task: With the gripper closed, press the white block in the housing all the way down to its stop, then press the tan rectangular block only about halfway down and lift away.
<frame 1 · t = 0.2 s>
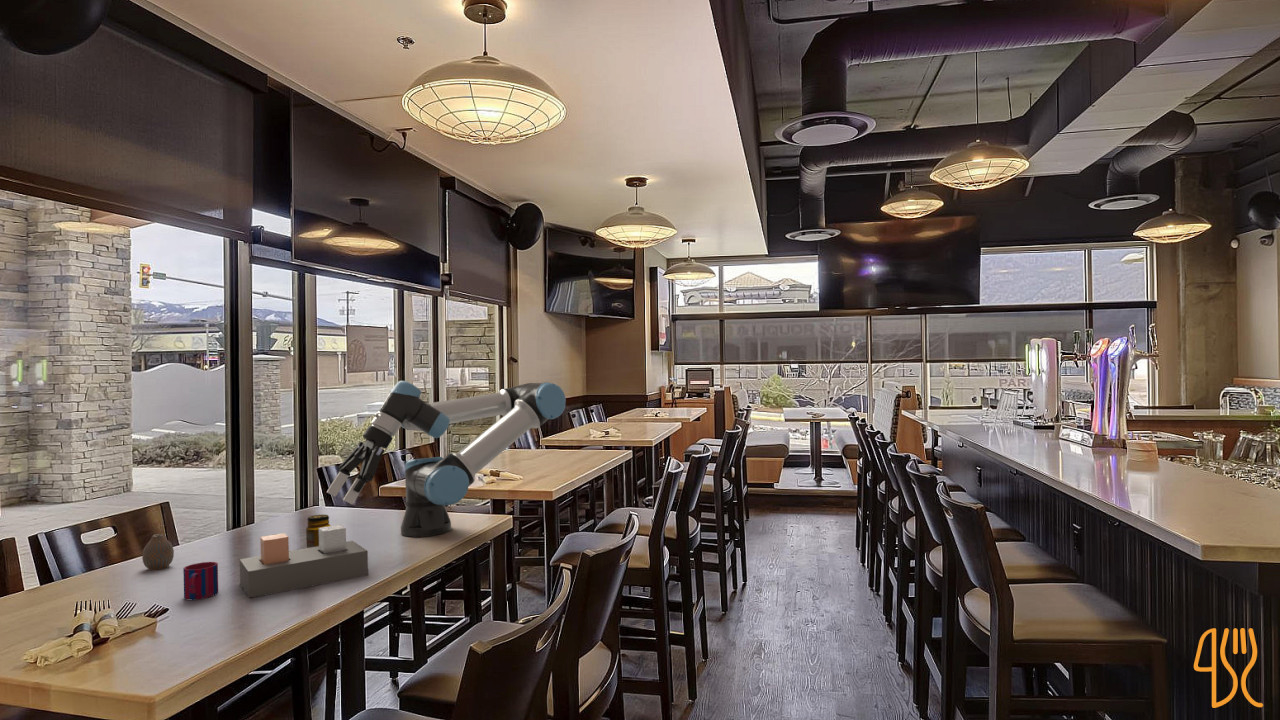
hand: (338, 498, 191), 16 cm above the table, tool tilted 35°, fingers open, 13 cm apart
white block: (332, 540, 174), point 8 cm above the table, slide at 0.0 cm
vase: (158, 568, 186), on the table
tan rectangular block: (274, 549, 167), point 8 cm above the table, slide at 0.0 cm
condiment: (315, 561, 188), on the table
mug: (198, 598, 159), on the table
housing: (305, 579, 170), on the table
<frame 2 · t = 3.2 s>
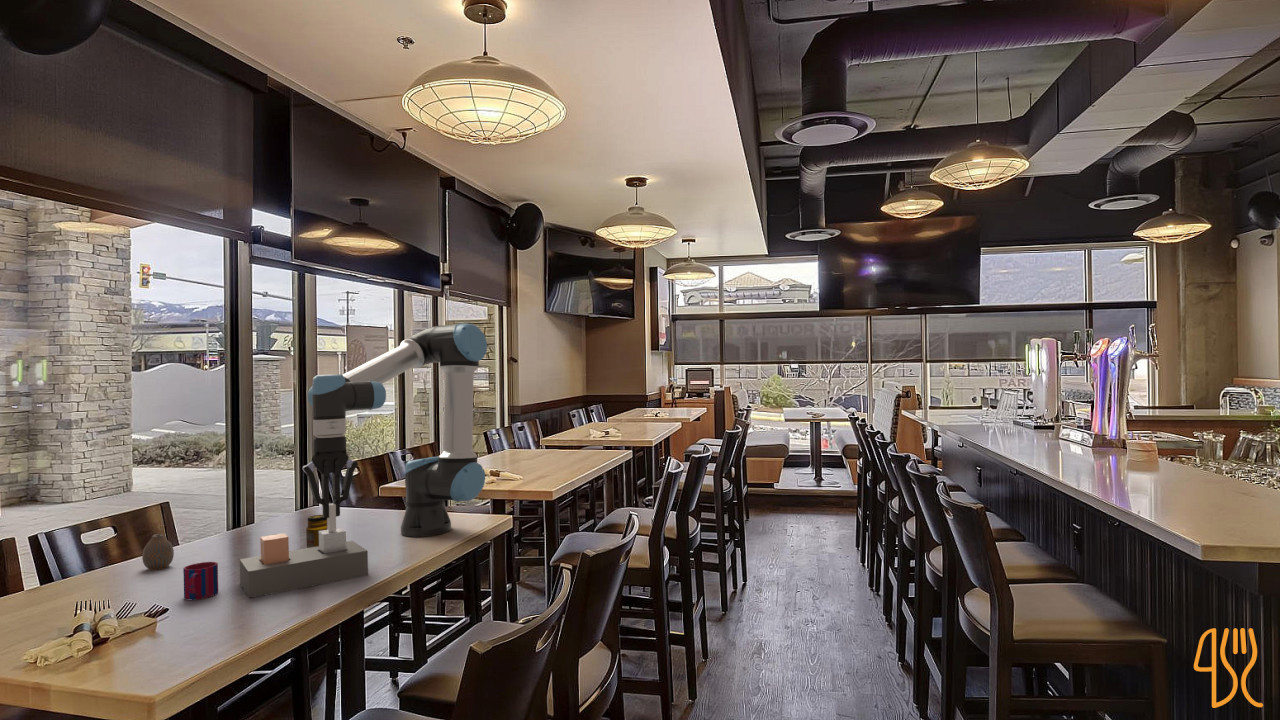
hand: (331, 530, 174), 11 cm above the table, tool pointing down, fingers closed
white block: (332, 543, 174), point 8 cm above the table, slide at 0.8 cm, touching gripper
everything else where it was.
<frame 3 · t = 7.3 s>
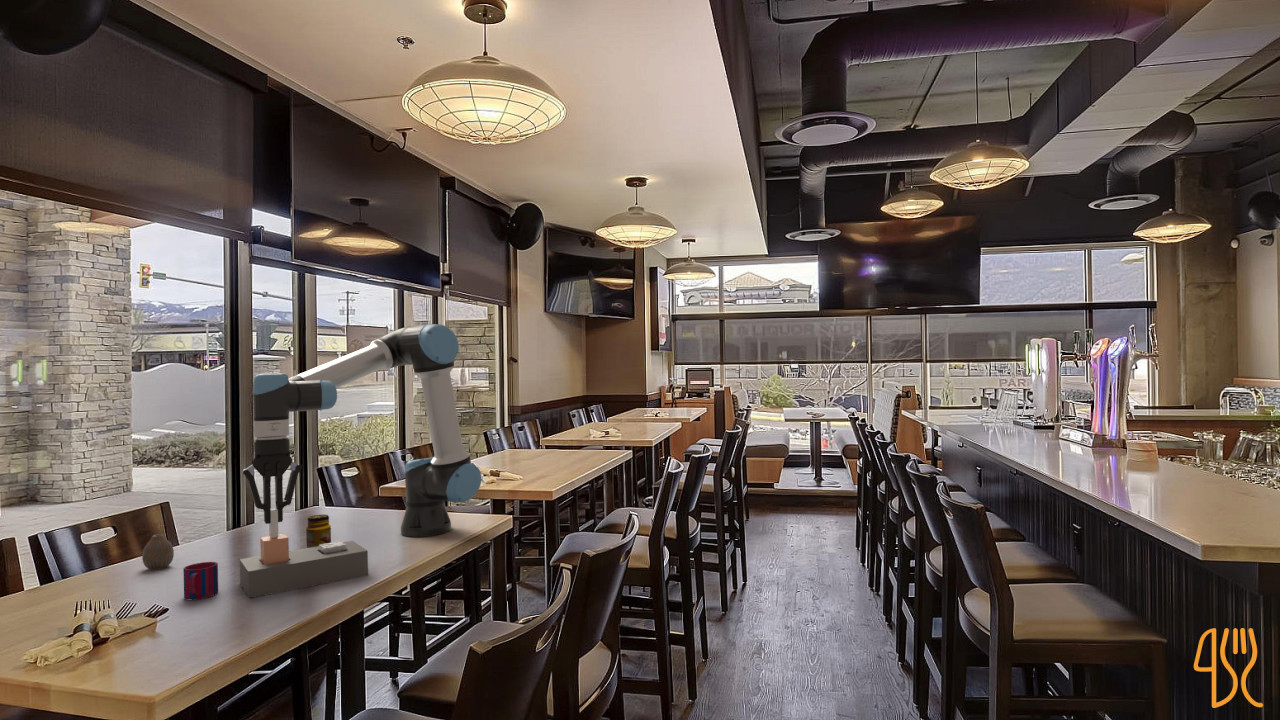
hand: (273, 536, 167), 12 cm above the table, tool pointing down, fingers closed
white block: (332, 556, 174), point 4 cm above the table, slide at 4.1 cm
tan rectangular block: (274, 550, 167), point 8 cm above the table, slide at 0.2 cm, touching gripper
everything else where it was.
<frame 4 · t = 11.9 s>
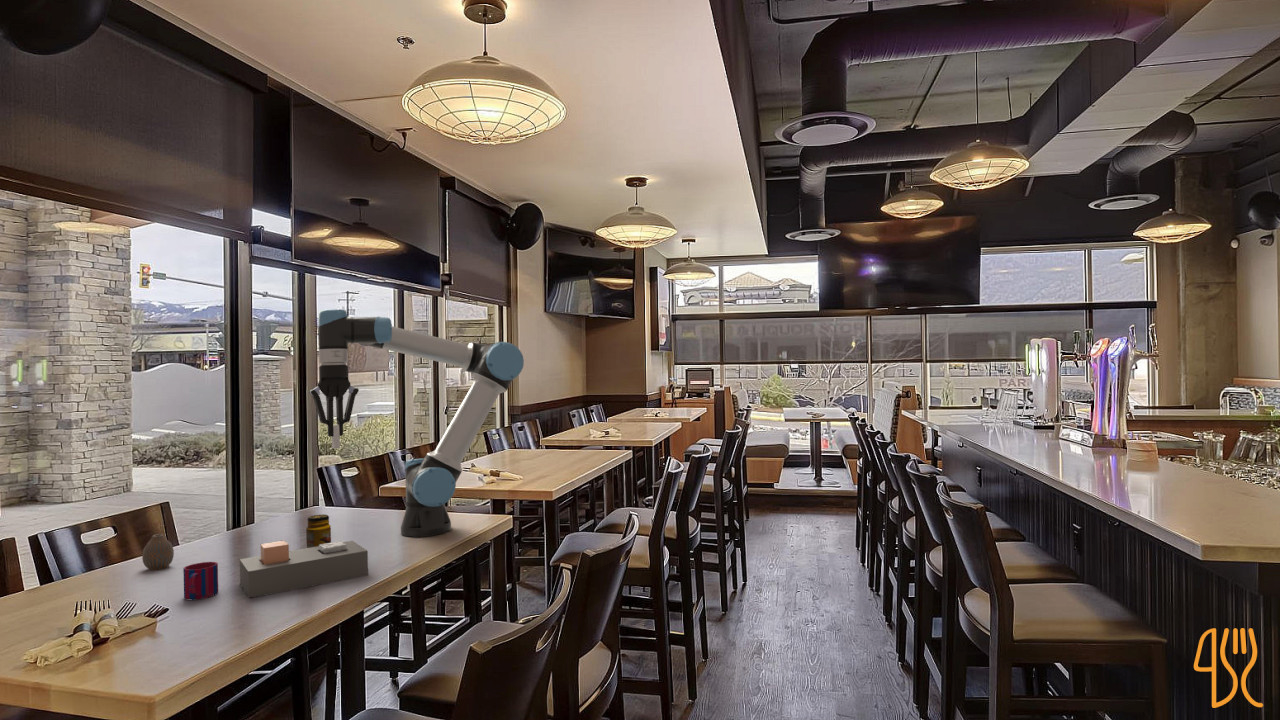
hand: (335, 447, 196), 29 cm above the table, tool pointing down, fingers closed
tan rectangular block: (274, 556, 167), point 7 cm above the table, slide at 1.8 cm
everything else where it was.
at the end: white block slide at 4.1 cm; tan rectangular block slide at 1.8 cm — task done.
